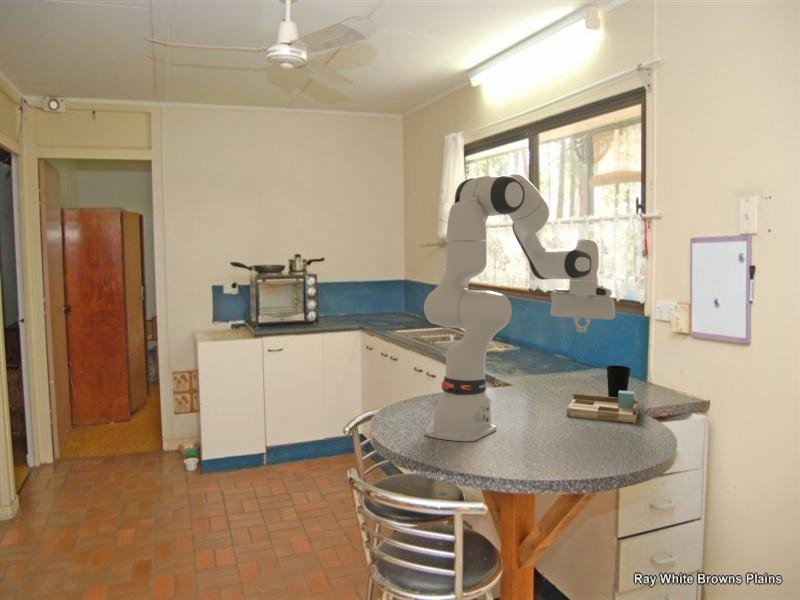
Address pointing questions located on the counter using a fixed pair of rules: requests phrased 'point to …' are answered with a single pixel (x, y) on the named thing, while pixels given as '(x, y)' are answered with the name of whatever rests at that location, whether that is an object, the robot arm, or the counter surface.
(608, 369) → the cup
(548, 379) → the counter surface
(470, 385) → the robot arm
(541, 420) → the counter surface
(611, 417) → the wooden tray
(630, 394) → the block
